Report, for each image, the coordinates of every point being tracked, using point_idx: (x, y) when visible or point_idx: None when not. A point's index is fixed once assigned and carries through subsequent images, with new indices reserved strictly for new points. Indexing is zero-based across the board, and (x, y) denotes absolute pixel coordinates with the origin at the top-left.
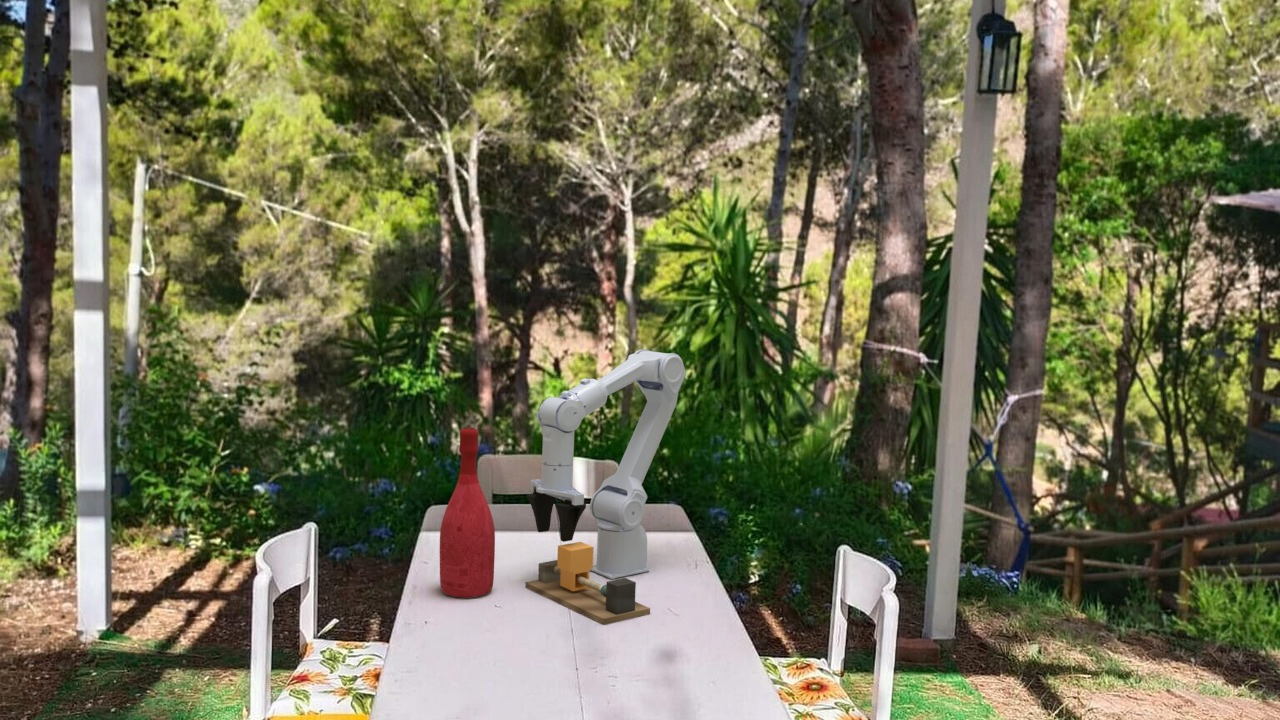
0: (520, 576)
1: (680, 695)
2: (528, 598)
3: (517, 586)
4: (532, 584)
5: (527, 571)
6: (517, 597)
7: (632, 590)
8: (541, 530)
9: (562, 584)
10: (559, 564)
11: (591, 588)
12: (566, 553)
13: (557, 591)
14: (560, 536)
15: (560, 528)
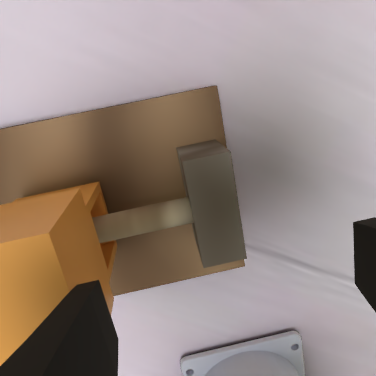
0: (335, 119)
1: None
2: (91, 46)
3: (239, 64)
4: (182, 101)
5: (370, 162)
6: (117, 9)
7: None
8: (359, 239)
9: (83, 186)
10: (56, 197)
11: None
12: None
13: (70, 156)
14: (87, 292)
15: (55, 335)
